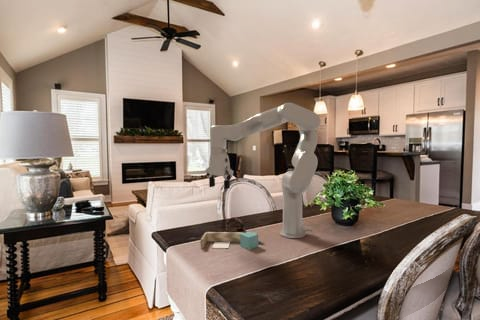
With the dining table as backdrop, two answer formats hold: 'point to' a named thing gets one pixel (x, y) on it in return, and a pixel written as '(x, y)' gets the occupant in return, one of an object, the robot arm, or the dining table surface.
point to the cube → (249, 240)
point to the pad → (221, 245)
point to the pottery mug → (234, 224)
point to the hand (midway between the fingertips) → (219, 187)
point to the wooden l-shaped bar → (220, 237)
